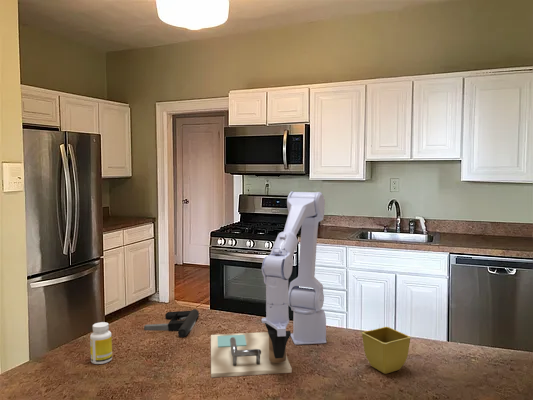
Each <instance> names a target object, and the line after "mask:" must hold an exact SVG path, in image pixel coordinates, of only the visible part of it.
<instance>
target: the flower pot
mask: <svg viewBox="0 0 533 400" xmlns="http://www.w3.org/2000/svg"><path fill="white" fill-rule="evenodd" d="M361 336H362V337H361V338H362V345H363V350H364V351H363V352H364V354H365V357H366V359H367V361H368V363H369V364H370V366H371V367H372V368H374V369H375V370H377V371H379V372H381V373H383V374H385V375H386V374H389V373H393V372H396V371H399V370H401V368H402V367H403V366H404V364H405V363H406V361H407V359H408V355H409V350H410V342H411V338H412V337H411V336H410V335H407V334H405V333H403V332H401V331H398V330H396V329H394V328H392V327H390V326H383V327H379V328H376V329H371V330H364V331H362V332H361Z"/></svg>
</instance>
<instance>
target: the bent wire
mask: <svg viewBox="0 0 533 400" xmlns="http://www.w3.org/2000/svg"><path fill="white" fill-rule="evenodd" d="M230 346H231V354H232V356H233V366H236V365H237V357H243V356H256V364H257V365H259V364H260V354H261V350H260V349H250V350H237V345H236V339H235V338H234V337H232V338H231V339H230Z"/></svg>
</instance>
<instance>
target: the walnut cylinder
mask: <svg viewBox="0 0 533 400" xmlns="http://www.w3.org/2000/svg"><path fill="white" fill-rule="evenodd" d="M286 356H287V347H286V348H285V353H284V357H283V358H275V356H274V352H273V345H272V341H271V338H270V336H269V360H270V361H271V362H275V363H280V362H284V361H285V360H286Z"/></svg>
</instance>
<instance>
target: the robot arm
mask: <svg viewBox="0 0 533 400" xmlns="http://www.w3.org/2000/svg"><path fill="white" fill-rule="evenodd" d="M325 204H326V203H325V196H324V194H323V193H322V192H321V191H316V192H315V191H314V192H313V191H311V192H310V191H293V190H291V191H290V192H289V194H288V196H287V199H286V206H287V210H288V211H287V212H288V214H287V218H286V222H285V225H284V229H283V231H281V232H279V233H278V234H277V237H276V238H275V240H274V241H275V242H274V244H273V246H272V248H271V251H270V254H268V255H267V256H265V257H263V260H262V264H261V274H262V276H263V282H264V283H263V284H265V312H266V313H265V314H266V316H265V317H262V318H261V323H262V324H264V325H265V328H266V330H267V332H268V334H269V336H270V338H271V341H272V345H273V352H274V356H275V358H283V357H284V353H285V348H286V349H287V344H288V341H289V339H290V338H291V340H292V342H293V344H294V346H295V345H297V346H299V345H312V344H313V345H314V344H327V317H326V313H325V310H324V309H323V307H324V302H325V301H324V300H325V294H324V286H323V284H322V283H321V282H320V281H319V280H318V279H317V278H316V276H315V275H316V272H315V271H316V259H317V244H318V243H317V242H318V229H319V223H320V222H322V221H323V220H324V217H325V207H326V206H325ZM300 229H301V230H300ZM299 231H300V243H299V240H298V238H297V234H299ZM298 243H299V244H300V245H299V259H298V260H299V261H298V274H297V277H296V278H294V279H293V280H291V281H290V282H289V279H290V278H291V275H292V273H293V264H294V258H293V257H294V254H295V252H296V250H297V246H298ZM289 307H290V309H291V310H290V311H293V314H292V315H293V319H292V321H293V327H292V328H293V330H292V331H293V332H292V333H291V331H290V330H287V329H286V328H287V327H288V325H289V323H290V318H289Z"/></svg>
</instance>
